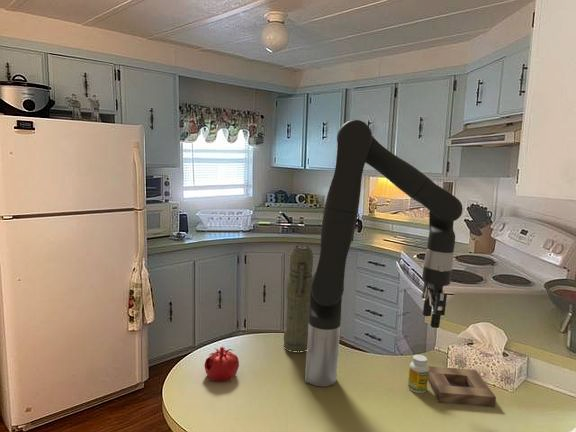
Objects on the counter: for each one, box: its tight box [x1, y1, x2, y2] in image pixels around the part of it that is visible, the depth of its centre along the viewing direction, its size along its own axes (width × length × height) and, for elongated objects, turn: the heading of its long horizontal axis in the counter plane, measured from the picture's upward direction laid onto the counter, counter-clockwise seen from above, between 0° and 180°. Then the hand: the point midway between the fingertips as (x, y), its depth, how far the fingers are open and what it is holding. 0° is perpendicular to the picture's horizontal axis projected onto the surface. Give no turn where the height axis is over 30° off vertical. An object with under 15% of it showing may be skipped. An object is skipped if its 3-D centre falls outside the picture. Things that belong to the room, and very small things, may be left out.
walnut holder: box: [427, 365, 497, 408], centre depth 127 cm, size 15×15×3 cm
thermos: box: [283, 245, 314, 352], centre depth 146 cm, size 9×12×35 cm
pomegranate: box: [204, 346, 240, 383], centre depth 127 cm, size 10×10×9 cm
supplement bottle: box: [407, 354, 429, 394], centre depth 126 cm, size 5×5×10 cm
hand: (430, 321), depth 124 cm, fingers open, 8 cm apart
